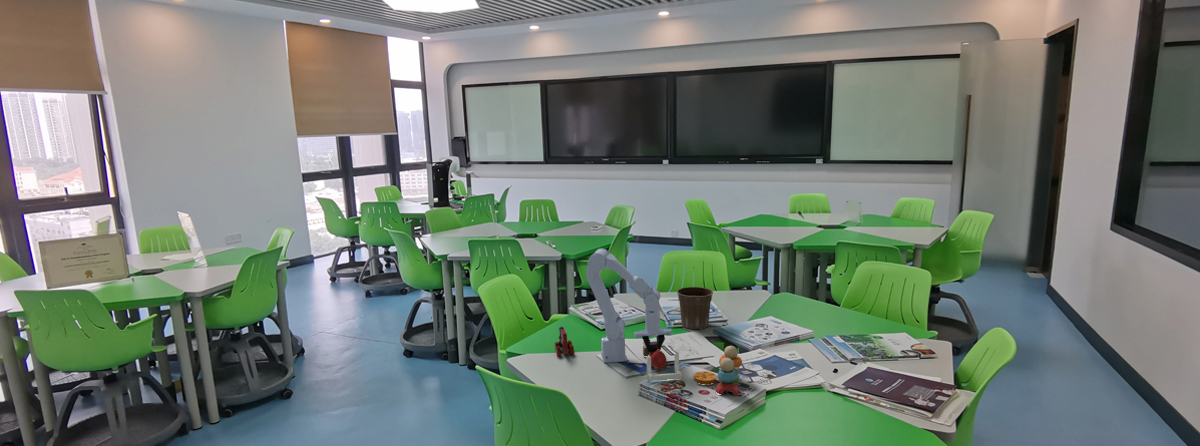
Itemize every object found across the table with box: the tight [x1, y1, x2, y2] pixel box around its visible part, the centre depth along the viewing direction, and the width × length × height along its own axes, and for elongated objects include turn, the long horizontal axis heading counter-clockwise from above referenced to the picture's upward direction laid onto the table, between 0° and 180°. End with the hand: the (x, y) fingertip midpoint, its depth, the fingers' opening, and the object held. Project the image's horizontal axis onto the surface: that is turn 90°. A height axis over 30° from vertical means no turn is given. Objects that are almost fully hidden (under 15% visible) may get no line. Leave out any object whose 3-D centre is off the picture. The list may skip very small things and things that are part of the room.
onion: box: [651, 349, 668, 370], centre depth 221 cm, size 6×6×8 cm
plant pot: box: [676, 286, 714, 330], centre depth 268 cm, size 16×16×16 cm
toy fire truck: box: [554, 326, 575, 357], centre depth 241 cm, size 7×12×10 cm, turn 11°
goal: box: [645, 353, 682, 382], centre depth 213 cm, size 12×5×8 cm, turn 97°
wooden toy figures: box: [693, 345, 743, 396], centre depth 205 cm, size 18×17×12 cm
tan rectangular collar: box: [642, 345, 648, 357], centre depth 235 cm, size 6×2×4 cm, turn 97°
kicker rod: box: [643, 340, 663, 366], centre depth 234 cm, size 5×19×7 cm, turn 7°
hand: (653, 353), depth 230 cm, fingers closed on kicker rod, 3 cm apart
